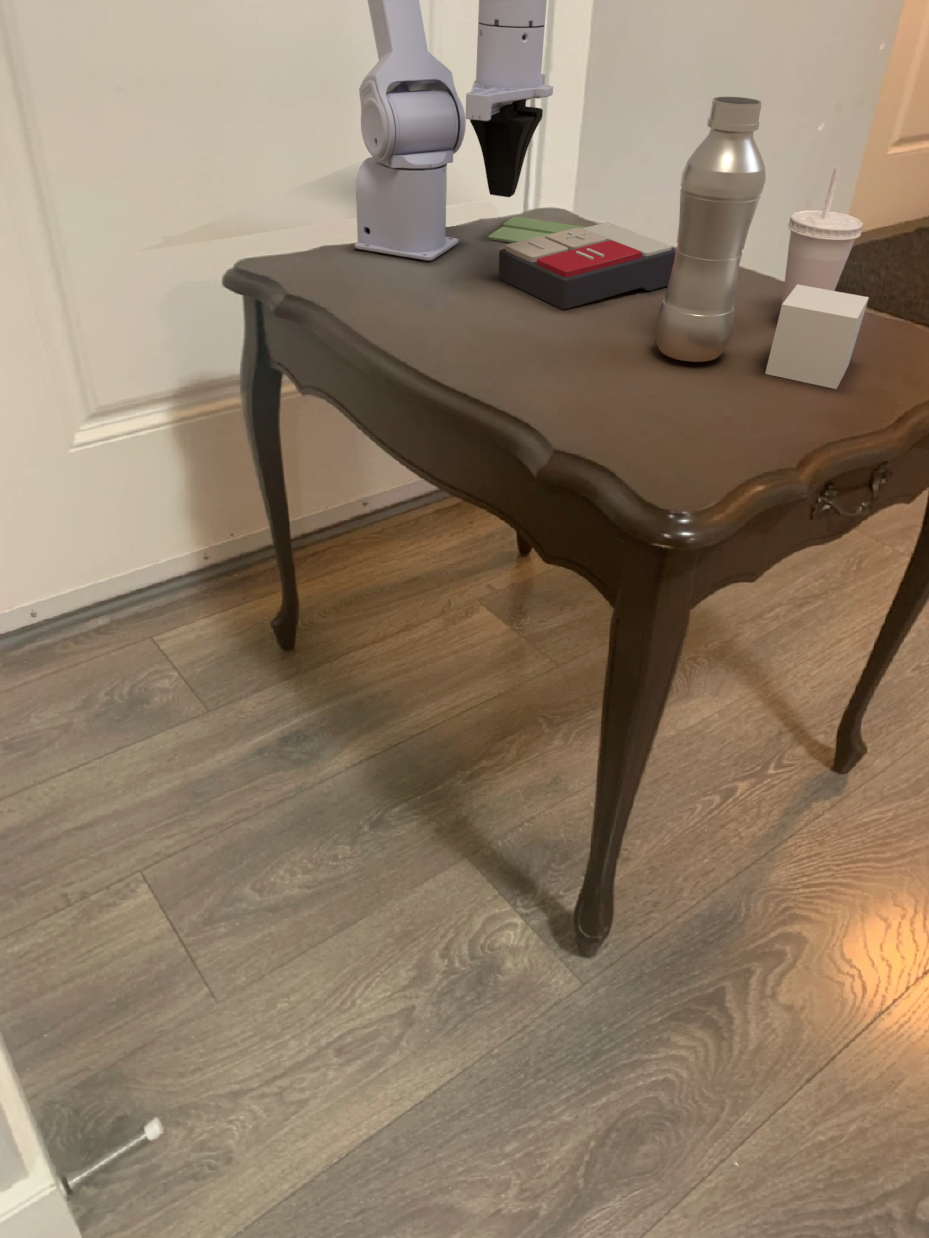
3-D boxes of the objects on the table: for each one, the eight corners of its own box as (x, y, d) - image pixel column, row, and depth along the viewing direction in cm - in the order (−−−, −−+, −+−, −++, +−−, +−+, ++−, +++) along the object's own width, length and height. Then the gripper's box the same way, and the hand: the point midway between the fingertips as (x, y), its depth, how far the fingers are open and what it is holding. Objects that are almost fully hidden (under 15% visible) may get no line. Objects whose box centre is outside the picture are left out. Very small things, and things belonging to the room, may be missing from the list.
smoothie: (753, 324, 89) (789, 165, 81) (785, 308, 93) (822, 155, 85) (815, 342, 86) (859, 179, 77) (845, 325, 90) (891, 168, 81)
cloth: (487, 239, 109) (487, 234, 108) (514, 221, 115) (514, 215, 115) (602, 257, 105) (603, 251, 104) (623, 237, 111) (624, 232, 111)
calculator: (497, 242, 95) (608, 216, 102) (496, 284, 98) (604, 256, 104) (565, 272, 88) (680, 242, 95) (562, 317, 91) (674, 284, 97)
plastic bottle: (636, 347, 83) (675, 95, 71) (699, 339, 86) (747, 92, 74) (676, 375, 79) (725, 110, 67) (742, 365, 81) (800, 106, 69)
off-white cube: (764, 374, 80) (781, 304, 76) (780, 351, 84) (796, 284, 80) (837, 389, 78) (857, 318, 74) (849, 365, 82) (869, 297, 78)
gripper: (526, 36, 73) (514, 218, 81) (581, 21, 84) (566, 184, 92) (444, 29, 75) (441, 207, 83) (508, 15, 86) (499, 175, 94)
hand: (502, 194), depth 88 cm, fingers closed
